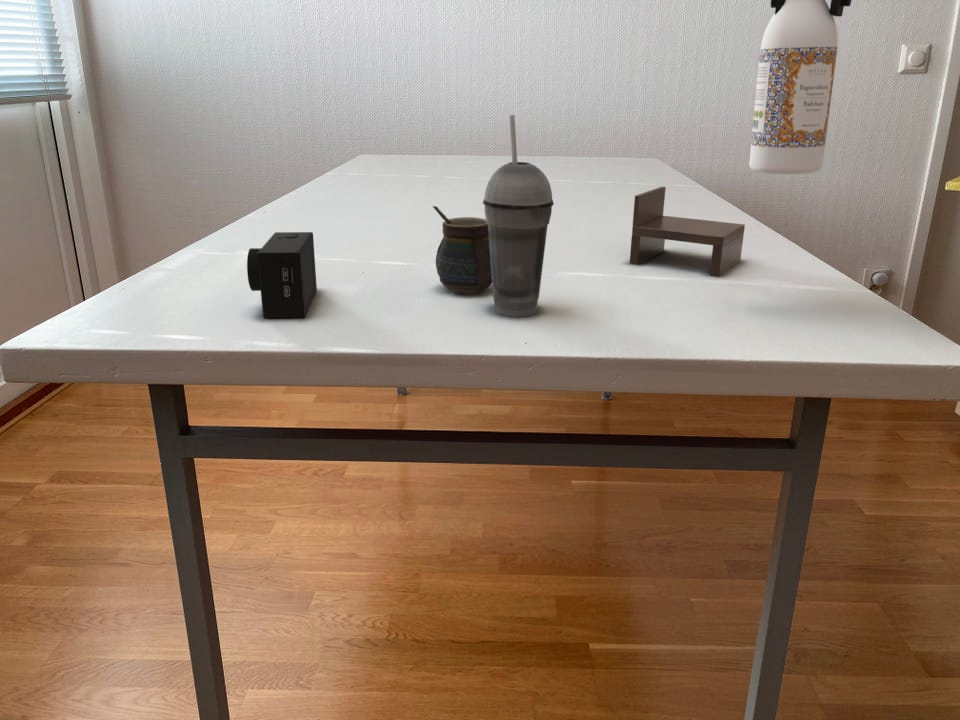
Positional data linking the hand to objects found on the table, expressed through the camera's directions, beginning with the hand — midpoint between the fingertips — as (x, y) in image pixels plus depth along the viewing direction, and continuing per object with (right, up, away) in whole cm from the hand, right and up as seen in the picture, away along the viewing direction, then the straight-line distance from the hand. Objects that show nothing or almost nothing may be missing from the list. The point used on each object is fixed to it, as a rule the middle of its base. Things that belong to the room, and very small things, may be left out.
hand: (808, 13), depth 74 cm
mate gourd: (-33, -25, +17) cm, 45 cm away
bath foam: (0, -14, +5) cm, 15 cm away
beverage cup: (-27, -28, +10) cm, 40 cm away
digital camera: (-52, -27, +11) cm, 60 cm away
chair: (-3, -20, +31) cm, 37 cm away
